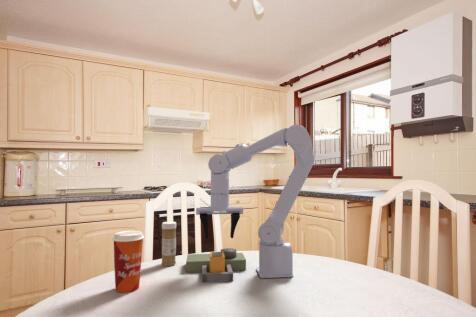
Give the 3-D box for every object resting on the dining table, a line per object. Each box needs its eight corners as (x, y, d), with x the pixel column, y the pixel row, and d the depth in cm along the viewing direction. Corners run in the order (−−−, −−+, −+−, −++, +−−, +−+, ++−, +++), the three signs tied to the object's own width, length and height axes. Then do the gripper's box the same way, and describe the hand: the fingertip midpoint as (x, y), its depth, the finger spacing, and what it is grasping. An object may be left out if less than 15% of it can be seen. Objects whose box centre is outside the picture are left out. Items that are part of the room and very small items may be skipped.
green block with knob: (242, 261, 97) (242, 246, 97) (250, 280, 80) (250, 261, 81) (187, 263, 95) (187, 248, 95) (184, 282, 78) (184, 263, 79)
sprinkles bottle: (171, 261, 97) (172, 220, 98) (178, 264, 94) (178, 222, 94) (158, 264, 94) (159, 222, 95) (165, 267, 91) (165, 223, 92)
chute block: (223, 272, 87) (223, 251, 87) (224, 278, 82) (224, 256, 82) (209, 272, 87) (209, 251, 87) (210, 279, 81) (210, 256, 82)
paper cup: (119, 297, 69) (121, 237, 70) (105, 288, 74) (107, 233, 75) (149, 288, 75) (150, 232, 75) (134, 280, 80) (135, 228, 80)
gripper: (196, 194, 86) (195, 241, 86) (244, 194, 88) (244, 240, 87) (196, 193, 93) (196, 236, 93) (241, 192, 95) (241, 235, 94)
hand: (219, 237), depth 91 cm, fingers open, 7 cm apart
